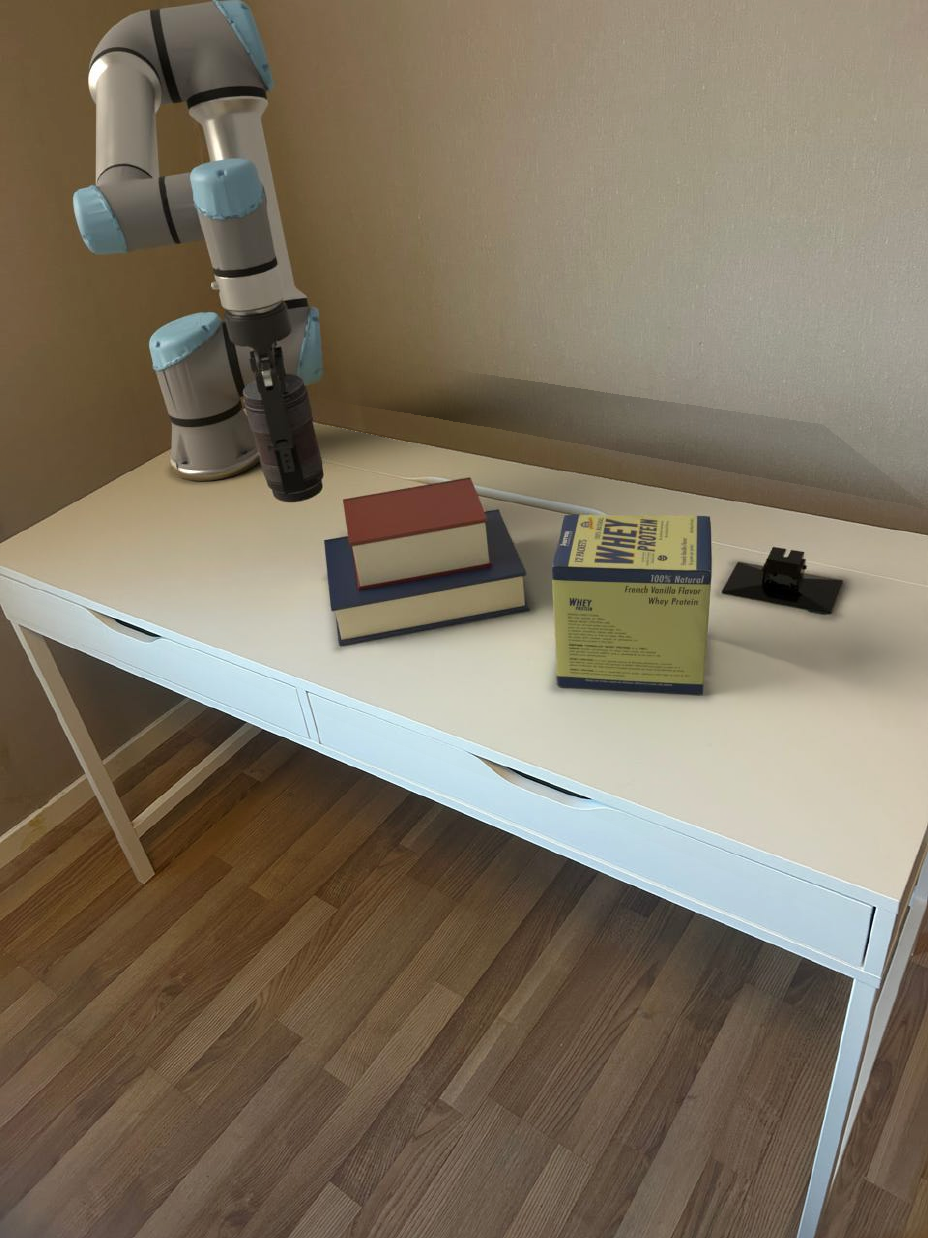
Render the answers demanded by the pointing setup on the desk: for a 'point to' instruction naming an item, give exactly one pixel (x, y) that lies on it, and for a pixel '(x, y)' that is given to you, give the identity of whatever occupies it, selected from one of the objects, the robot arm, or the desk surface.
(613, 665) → the protein box
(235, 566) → the desk surface
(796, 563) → the build plate
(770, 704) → the desk surface
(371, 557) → the dictionary
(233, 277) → the robot arm
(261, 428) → the camera lens
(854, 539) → the desk surface
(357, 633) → the encyclopedia
